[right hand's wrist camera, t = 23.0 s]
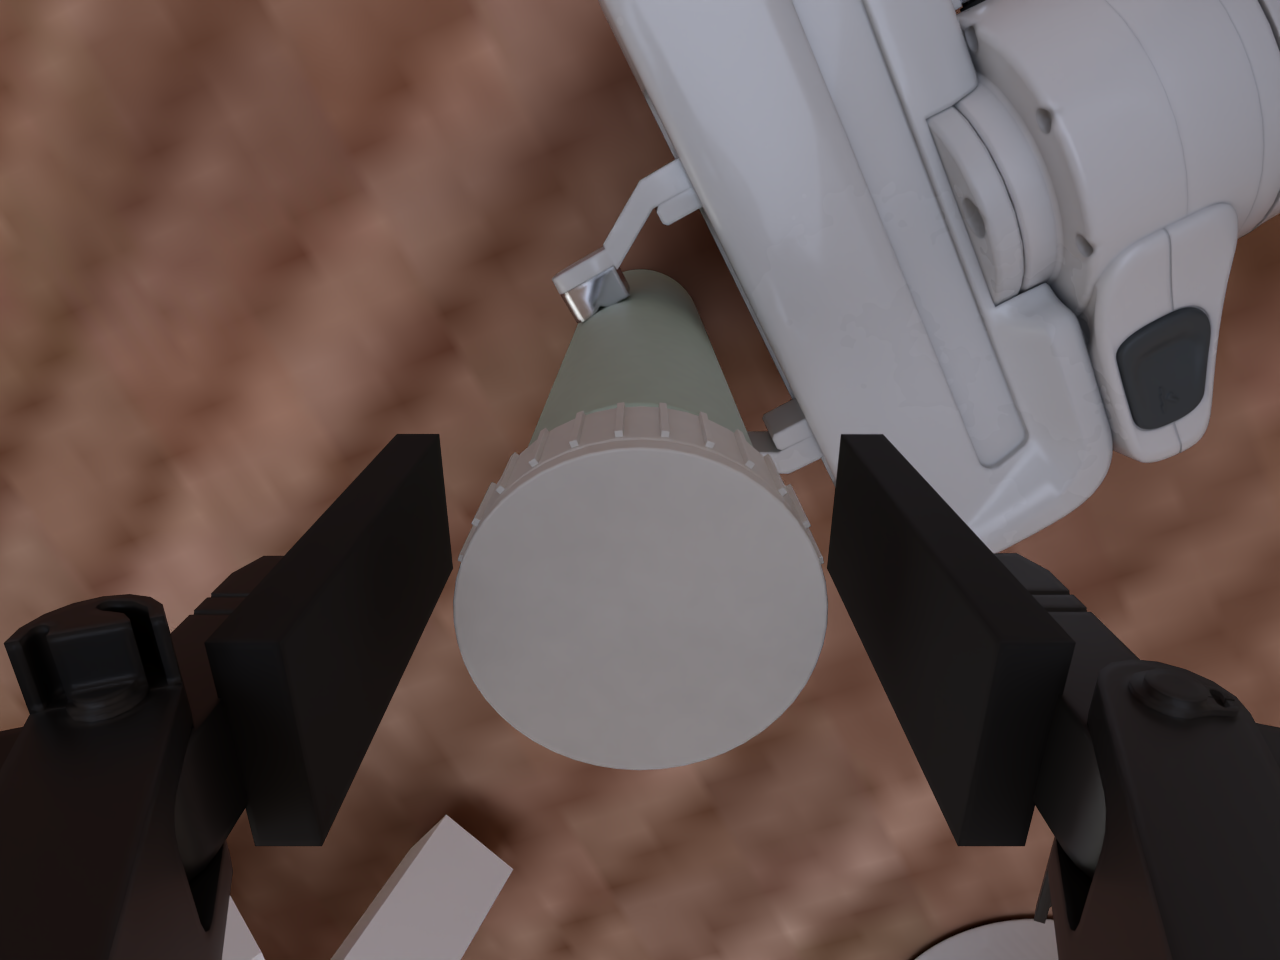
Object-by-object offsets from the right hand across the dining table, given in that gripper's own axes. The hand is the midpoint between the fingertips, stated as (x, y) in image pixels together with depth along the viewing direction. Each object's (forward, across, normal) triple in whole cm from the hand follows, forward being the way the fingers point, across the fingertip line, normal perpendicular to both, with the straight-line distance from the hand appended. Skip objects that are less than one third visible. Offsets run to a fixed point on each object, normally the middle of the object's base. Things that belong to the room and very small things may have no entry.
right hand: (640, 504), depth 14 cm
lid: (-4, 0, 0) cm, 4 cm away
